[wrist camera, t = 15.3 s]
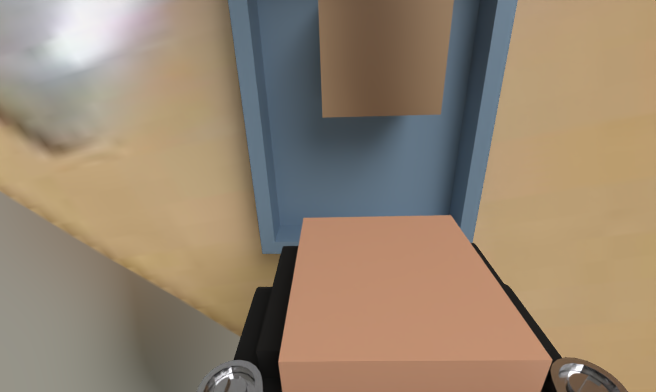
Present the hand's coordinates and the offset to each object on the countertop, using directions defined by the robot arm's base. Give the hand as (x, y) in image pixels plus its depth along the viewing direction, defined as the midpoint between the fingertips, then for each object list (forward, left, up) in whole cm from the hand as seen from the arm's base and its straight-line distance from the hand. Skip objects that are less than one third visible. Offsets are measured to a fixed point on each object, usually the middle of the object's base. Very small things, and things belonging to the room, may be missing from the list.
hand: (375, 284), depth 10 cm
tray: (0, -4, -10) cm, 10 cm away
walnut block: (-1, -7, -9) cm, 11 cm away
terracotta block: (0, 0, 0) cm, 0 cm away
